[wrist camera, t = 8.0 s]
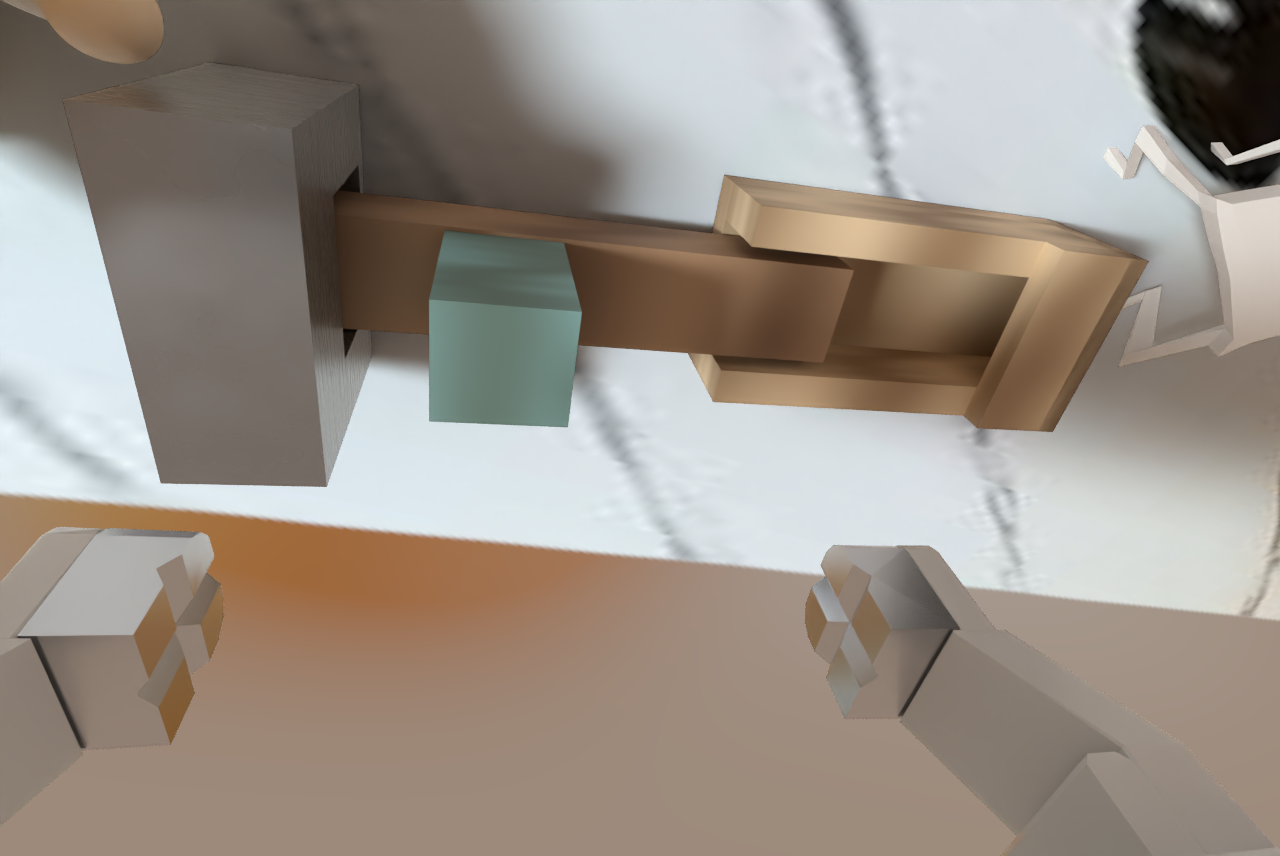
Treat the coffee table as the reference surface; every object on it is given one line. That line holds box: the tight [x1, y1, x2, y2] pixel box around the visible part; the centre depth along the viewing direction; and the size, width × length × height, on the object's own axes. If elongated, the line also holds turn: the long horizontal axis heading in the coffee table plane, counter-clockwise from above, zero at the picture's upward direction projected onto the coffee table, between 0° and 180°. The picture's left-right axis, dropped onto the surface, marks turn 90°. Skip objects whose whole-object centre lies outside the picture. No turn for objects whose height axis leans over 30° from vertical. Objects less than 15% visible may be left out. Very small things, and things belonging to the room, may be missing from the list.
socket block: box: [63, 62, 372, 487], centre depth 17 cm, size 4×8×7 cm, turn 171°
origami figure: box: [1104, 126, 1280, 367], centre depth 23 cm, size 12×8×5 cm
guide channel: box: [688, 175, 1149, 432], centre depth 22 cm, size 12×6×4 cm, turn 81°
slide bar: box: [333, 190, 854, 427], centre depth 17 cm, size 16×3×7 cm, turn 81°
